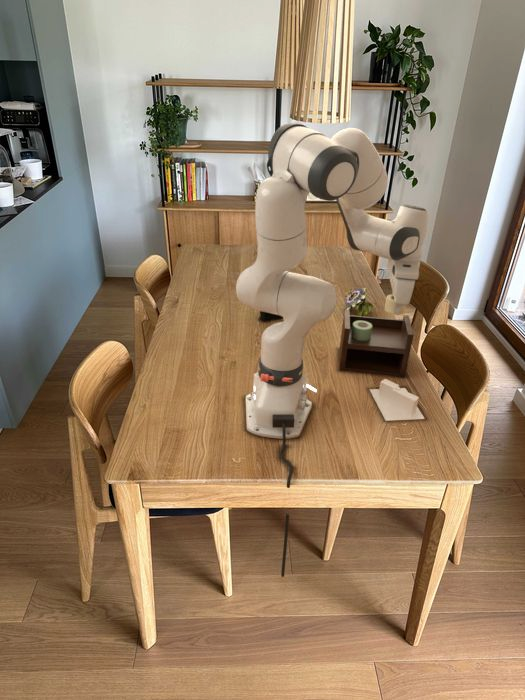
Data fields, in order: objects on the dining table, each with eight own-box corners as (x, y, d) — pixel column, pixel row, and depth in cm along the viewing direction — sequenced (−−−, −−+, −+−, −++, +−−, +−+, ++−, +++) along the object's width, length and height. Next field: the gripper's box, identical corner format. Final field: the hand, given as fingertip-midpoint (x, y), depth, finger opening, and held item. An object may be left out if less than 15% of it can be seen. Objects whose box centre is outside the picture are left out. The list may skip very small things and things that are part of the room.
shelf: (404, 377, 155) (413, 334, 147) (339, 370, 157) (344, 328, 149) (400, 355, 166) (408, 314, 159) (339, 349, 168) (344, 309, 161)
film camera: (285, 306, 196) (287, 284, 192) (297, 316, 189) (299, 294, 184) (250, 312, 190) (251, 290, 186) (261, 323, 183) (262, 300, 178)
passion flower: (346, 322, 197) (340, 293, 198) (373, 317, 197) (367, 288, 198) (351, 319, 186) (345, 288, 187) (380, 313, 186) (373, 282, 187)
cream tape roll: (406, 315, 147) (408, 302, 145) (385, 313, 148) (387, 300, 145) (403, 307, 152) (406, 294, 150) (383, 305, 153) (386, 293, 151)
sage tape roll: (371, 341, 153) (373, 330, 151) (351, 339, 153) (353, 328, 151) (370, 332, 158) (372, 321, 156) (351, 330, 159) (352, 319, 156)
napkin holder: (425, 418, 137) (429, 401, 134) (385, 421, 135) (389, 404, 132) (405, 387, 150) (408, 371, 147) (368, 389, 148) (371, 373, 145)
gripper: (389, 250, 152) (382, 292, 158) (395, 274, 134) (387, 320, 141) (410, 252, 151) (402, 294, 158) (419, 276, 133) (410, 322, 140)
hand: (395, 306), depth 149 cm, fingers closed on cream tape roll, 6 cm apart
